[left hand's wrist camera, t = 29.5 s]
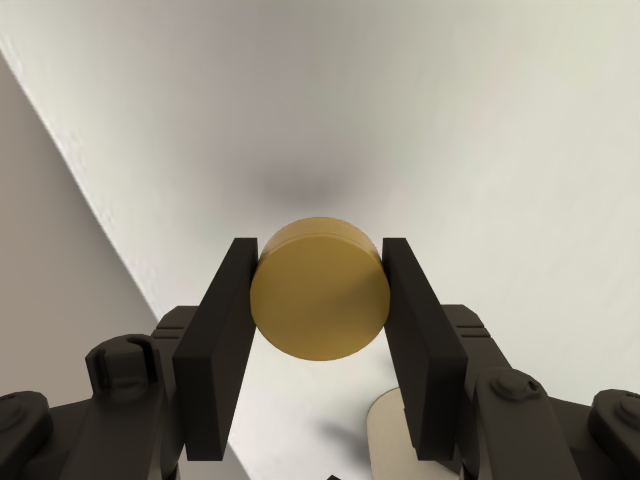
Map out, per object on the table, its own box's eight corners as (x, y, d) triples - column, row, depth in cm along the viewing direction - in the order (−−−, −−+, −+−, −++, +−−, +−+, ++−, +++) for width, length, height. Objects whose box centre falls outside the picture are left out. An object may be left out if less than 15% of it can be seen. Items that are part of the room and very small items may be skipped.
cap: (313, 189, 13) (312, 206, 12) (408, 270, 14) (420, 296, 13) (232, 281, 15) (220, 308, 13) (325, 350, 16) (326, 383, 14)
